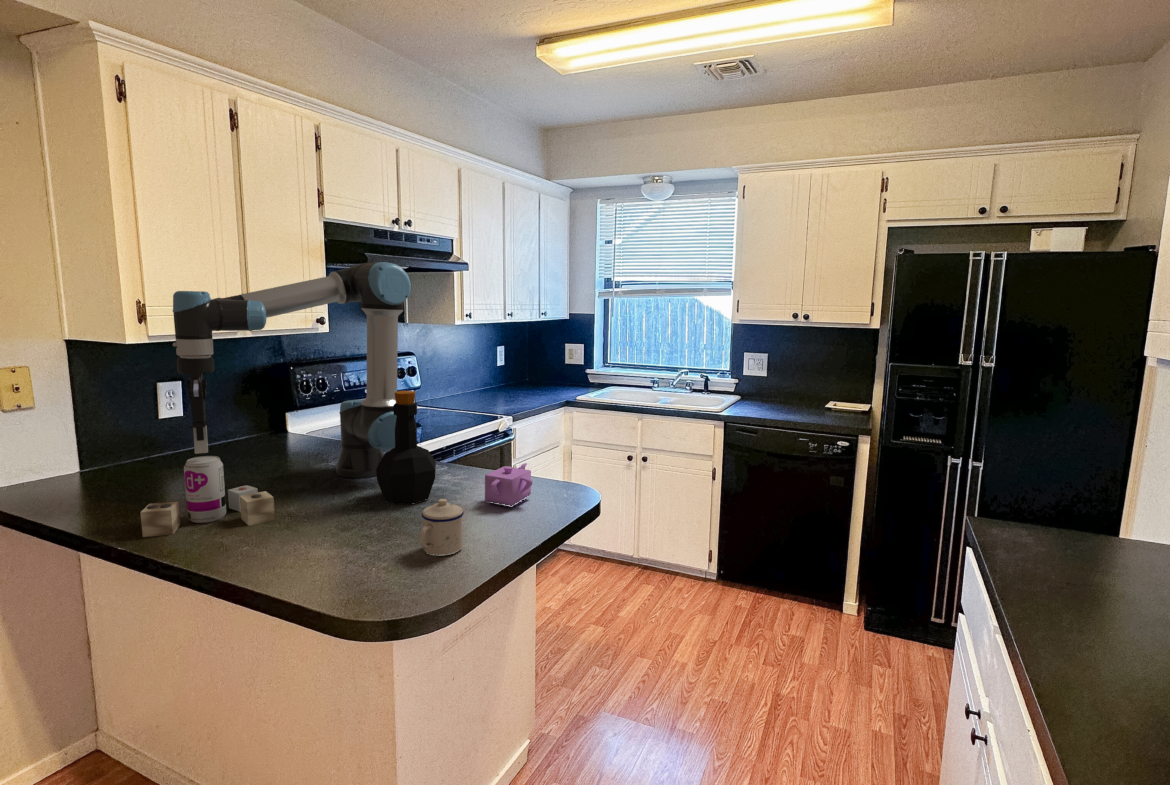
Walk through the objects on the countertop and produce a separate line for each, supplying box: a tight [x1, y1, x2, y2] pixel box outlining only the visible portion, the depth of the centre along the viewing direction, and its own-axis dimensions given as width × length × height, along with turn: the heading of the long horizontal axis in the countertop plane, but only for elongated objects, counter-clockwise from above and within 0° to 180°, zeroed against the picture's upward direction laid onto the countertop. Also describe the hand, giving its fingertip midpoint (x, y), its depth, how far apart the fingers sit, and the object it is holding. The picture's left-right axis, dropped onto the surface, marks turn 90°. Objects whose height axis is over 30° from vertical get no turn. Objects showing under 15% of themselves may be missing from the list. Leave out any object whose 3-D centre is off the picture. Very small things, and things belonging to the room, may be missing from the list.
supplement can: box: [183, 455, 227, 524], centre depth 154 cm, size 8×8×15 cm
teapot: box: [484, 462, 533, 506], centre depth 172 cm, size 18×14×10 cm
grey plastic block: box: [227, 484, 259, 513], centre depth 163 cm, size 5×5×5 cm
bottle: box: [376, 390, 437, 505], centre depth 172 cm, size 16×16×30 cm
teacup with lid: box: [418, 498, 465, 555], centre depth 138 cm, size 12×9×12 cm
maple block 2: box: [240, 490, 276, 526], centre depth 155 cm, size 6×6×6 cm
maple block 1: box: [140, 501, 181, 538], centre depth 146 cm, size 6×6×6 cm
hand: (201, 452), depth 152 cm, fingers closed
